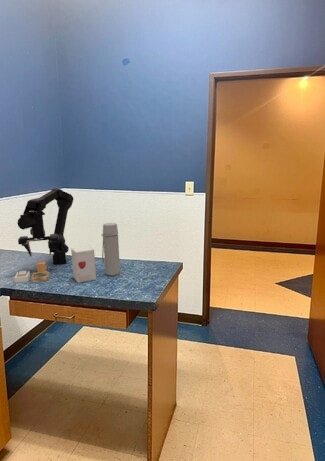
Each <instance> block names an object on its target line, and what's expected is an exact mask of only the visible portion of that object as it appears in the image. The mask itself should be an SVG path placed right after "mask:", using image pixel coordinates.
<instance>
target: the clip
mask: <svg viewBox="0 0 325 461" xmlns="http://www.w3.org/2000/svg"><path fill="white" fill-rule="evenodd" d="M19 272H20V271H18V272H17V271H16V273H15V275H14V277H13V278H14V283H15V284H16V283H17V284H18V283H26V282H29V280H30V279H31V273H30V272H31V271H27V275H26V276H21V277H18V274H19Z"/></svg>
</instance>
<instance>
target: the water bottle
mask: <svg viewBox="0 0 325 461" xmlns="http://www.w3.org/2000/svg"><path fill="white" fill-rule="evenodd" d="M101 237H102V255H101V257H102V258H101V259H102V264H104V268H105V269H104V271H105V274H106V275H107V276H117V275H119V274H120V272H121V266H120V264H121V263H120V261H121V260H120V249H119V248H120V244H119V230H118V224H117V223H116V222H106V223H103V224H102V233H101Z"/></svg>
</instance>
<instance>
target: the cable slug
mask: <svg viewBox="0 0 325 461" xmlns="http://www.w3.org/2000/svg"><path fill="white" fill-rule="evenodd" d="M18 272H19V274H18V277H21V276H26V275H27V272H28V271H27V270H19V271H18Z"/></svg>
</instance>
